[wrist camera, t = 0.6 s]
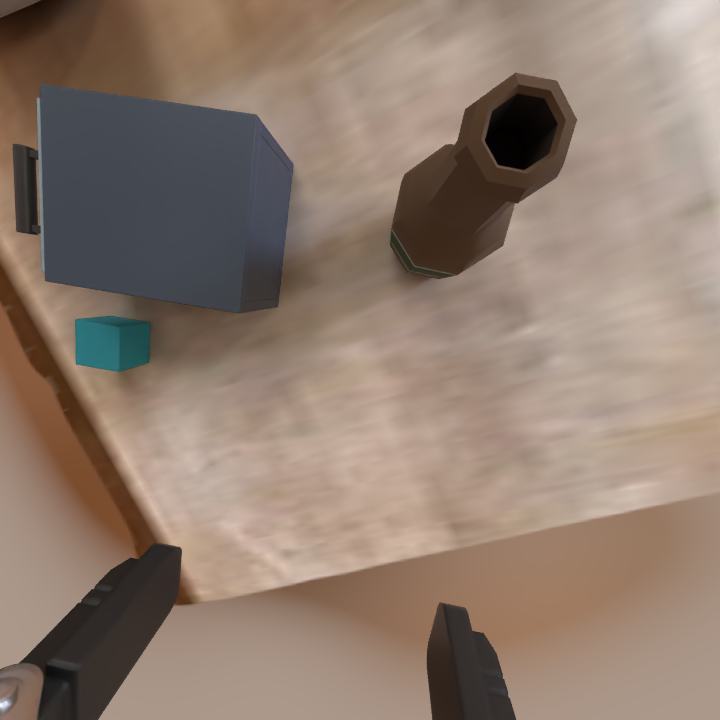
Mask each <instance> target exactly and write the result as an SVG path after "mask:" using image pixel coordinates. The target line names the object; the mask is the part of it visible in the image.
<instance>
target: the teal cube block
mask: <svg viewBox="0 0 720 720" xmlns="http://www.w3.org/2000/svg"><path fill="white" fill-rule="evenodd" d="M75 335H76V364H77V365H83V366H89V367H94V368H100V369H106V370H111V371H117V372H120V371H123V370H127V369H130V368H133V367H136V366H140V365H143V364H146V363H149V347H150V323H149V322H144V321H138V320H132V319H126V318H120V317H114V316H106V317H95V318H85V319H76V320H75Z"/></svg>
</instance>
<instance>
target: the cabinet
mask: <svg viewBox="0 0 720 720" xmlns="http://www.w3.org/2000/svg"><path fill="white" fill-rule="evenodd" d="M40 118H41V155H42V191H43V227H44V264H45V281H47V282H53V283H59V284H65V285H71V286H78V287H84V288H90V289H96V290H102V291H108V292H114V293H120V294H126V295H132V296H138V297H144V298H150V299H156V300H162V301H168V302H174V303H180V304H186V305H192V306H198V307H204V308H210V309H216V310H222V311H228V312H234V313H244V312H250V311H256V310H263V309H269V308H275V307H278V302H279V292H280V283H281V274H282V265H283V255H284V246H285V237H286V227H287V218H288V209H289V199H290V190H291V181H292V172H293V163H292V162H291V160H290V159H289V158H288V156H287V155H286V154H285V152H284V151H283V150H282V148H281V147H280V146H279V144H278V143H277V142H276V140H275V139H274V138H273V136H272V135H271V134H270V132H269V131H268V129H267V128H266V127H265V125H264V124H263V123H262V121H261V120H260V118H259V117H258V116H257V115H256V114H249V113H242V112H235V111H228V110H221V109H214V108H207V107H200V106H193V105H186V104H179V103H172V102H165V101H158V100H151V99H143V98H136V97H129V96H122V95H115V94H108V93H101V92H94V91H87V90H80V89H73V88H66V87H59V86H52V85H45V84H40Z"/></svg>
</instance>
